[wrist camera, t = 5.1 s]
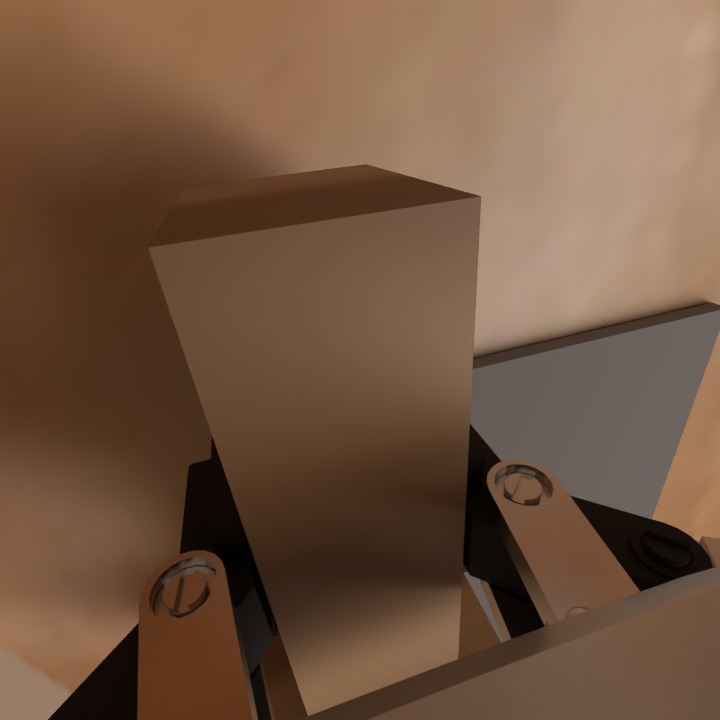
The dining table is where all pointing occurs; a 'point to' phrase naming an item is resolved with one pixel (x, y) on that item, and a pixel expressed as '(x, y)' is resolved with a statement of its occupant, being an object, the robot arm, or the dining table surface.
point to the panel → (597, 407)
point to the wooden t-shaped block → (338, 411)
